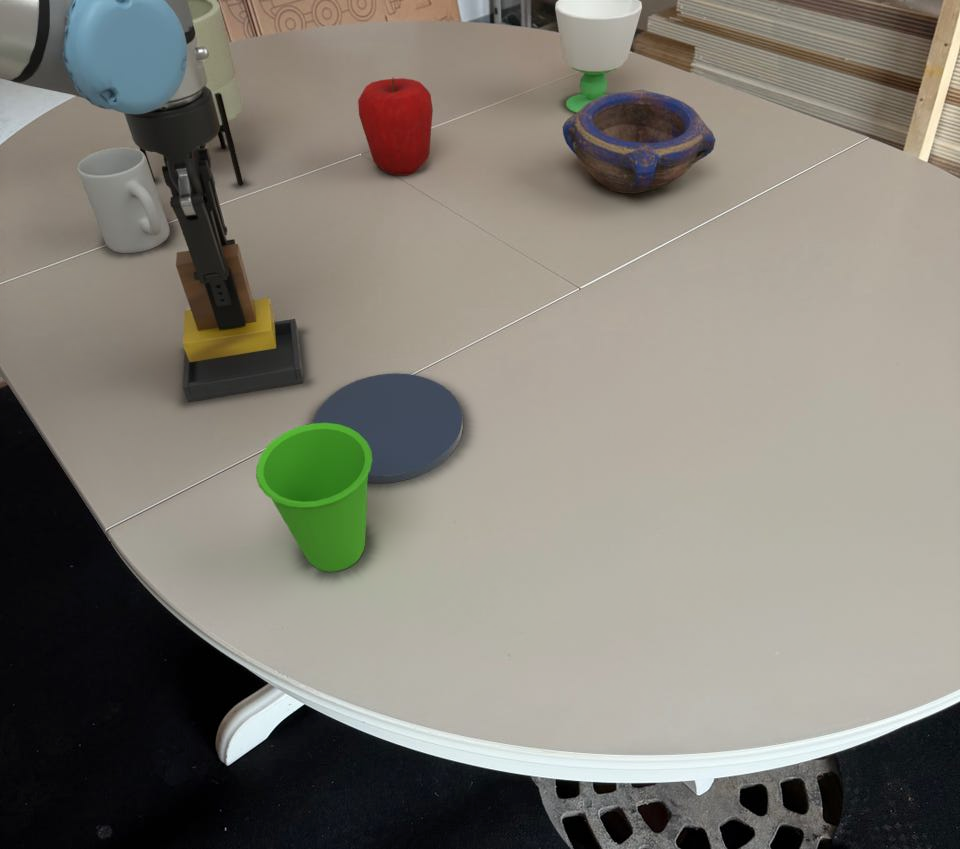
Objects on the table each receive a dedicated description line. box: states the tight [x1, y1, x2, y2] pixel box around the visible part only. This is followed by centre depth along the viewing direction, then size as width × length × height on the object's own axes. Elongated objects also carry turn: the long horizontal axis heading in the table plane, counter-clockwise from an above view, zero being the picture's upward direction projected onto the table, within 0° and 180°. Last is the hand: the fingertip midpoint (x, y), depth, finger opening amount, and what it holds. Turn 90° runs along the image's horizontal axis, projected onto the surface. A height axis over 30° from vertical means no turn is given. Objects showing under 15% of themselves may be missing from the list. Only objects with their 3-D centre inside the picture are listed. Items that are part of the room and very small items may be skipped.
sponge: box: [175, 243, 276, 362], centre depth 85 cm, size 9×6×10 cm, turn 103°
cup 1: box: [255, 423, 372, 573], centre depth 68 cm, size 9×9×11 cm
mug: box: [76, 146, 171, 254], centre depth 107 cm, size 12×8×11 cm
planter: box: [138, 0, 244, 187], centre depth 118 cm, size 15×16×23 cm
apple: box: [357, 77, 434, 176], centre depth 120 cm, size 11×10×14 cm
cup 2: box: [554, 0, 643, 114], centre depth 134 cm, size 14×14×16 cm
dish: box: [181, 318, 305, 403], centre depth 90 cm, size 12×9×2 cm
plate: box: [312, 373, 464, 484], centre depth 82 cm, size 15×15×1 cm
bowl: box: [562, 89, 716, 194], centre depth 116 cm, size 18×18×10 cm
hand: (232, 316), depth 86 cm, fingers closed on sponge, 2 cm apart
